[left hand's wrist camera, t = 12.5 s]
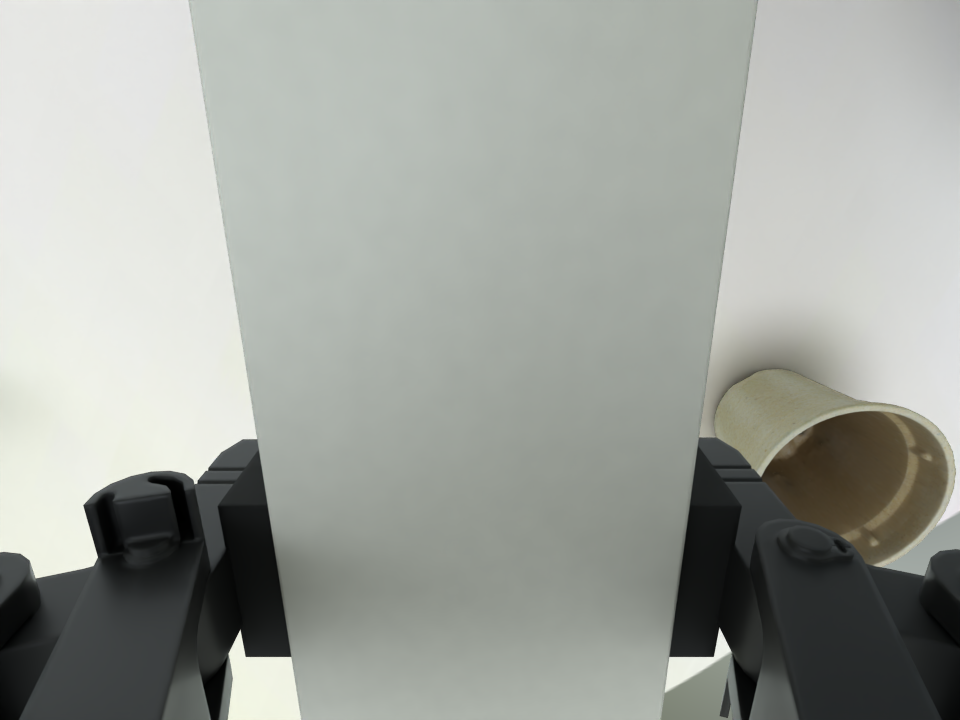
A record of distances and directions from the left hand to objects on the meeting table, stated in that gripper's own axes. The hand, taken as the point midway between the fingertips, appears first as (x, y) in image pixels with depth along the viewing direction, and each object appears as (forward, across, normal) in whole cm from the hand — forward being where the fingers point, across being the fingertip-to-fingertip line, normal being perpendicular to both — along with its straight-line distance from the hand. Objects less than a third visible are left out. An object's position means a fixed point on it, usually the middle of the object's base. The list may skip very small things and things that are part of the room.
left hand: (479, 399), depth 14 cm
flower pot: (+18, -17, +9) cm, 27 cm away
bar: (+1, 0, -24) cm, 24 cm away
